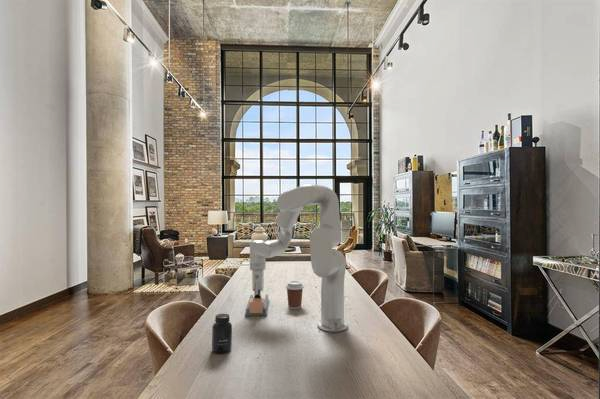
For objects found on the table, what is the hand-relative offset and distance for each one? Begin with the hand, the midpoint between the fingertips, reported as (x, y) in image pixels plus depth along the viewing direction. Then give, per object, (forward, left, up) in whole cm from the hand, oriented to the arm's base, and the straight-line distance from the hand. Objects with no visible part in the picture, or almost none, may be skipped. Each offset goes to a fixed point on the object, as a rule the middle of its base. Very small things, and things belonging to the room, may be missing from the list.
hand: (257, 304), depth 159 cm
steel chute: (+2, 0, -3) cm, 3 cm away
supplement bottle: (-42, +9, -3) cm, 43 cm away
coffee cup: (+4, -18, -3) cm, 19 cm away
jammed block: (-6, 0, -1) cm, 6 cm away
